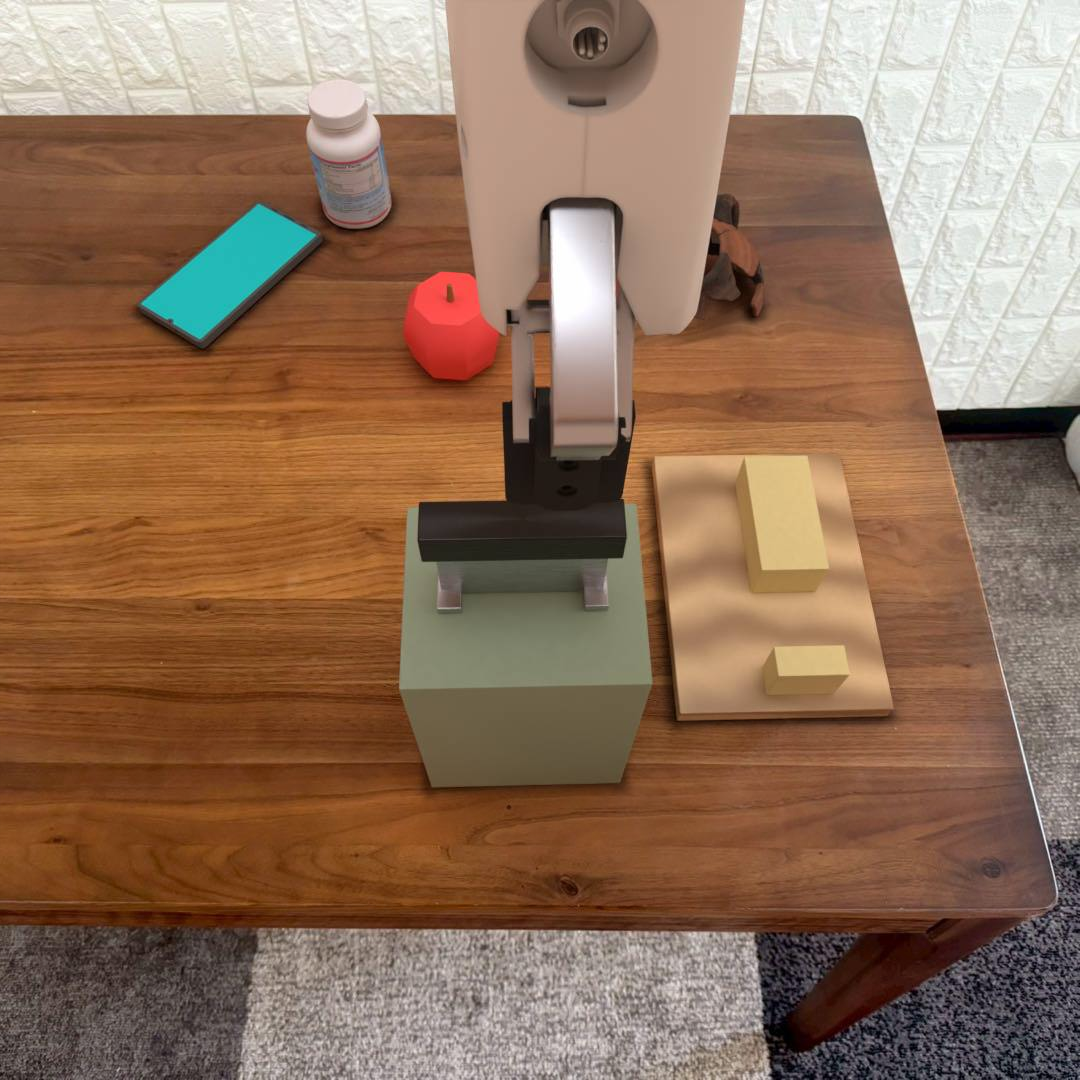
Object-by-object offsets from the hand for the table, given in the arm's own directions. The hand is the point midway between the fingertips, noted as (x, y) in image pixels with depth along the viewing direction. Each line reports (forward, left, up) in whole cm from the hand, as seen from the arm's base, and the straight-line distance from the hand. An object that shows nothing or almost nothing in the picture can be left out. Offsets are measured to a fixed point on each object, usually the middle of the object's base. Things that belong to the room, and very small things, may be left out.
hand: (556, 357), depth 29 cm
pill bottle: (+49, +15, -38) cm, 64 cm away
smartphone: (+41, +25, -38) cm, 61 cm away
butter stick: (+14, -17, -37) cm, 43 cm away
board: (+11, -16, -38) cm, 43 cm away
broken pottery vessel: (+39, -15, -38) cm, 57 cm away
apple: (+32, +6, -38) cm, 50 cm away
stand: (+2, +1, -38) cm, 38 cm away
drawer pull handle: (+2, +1, -20) cm, 20 cm away
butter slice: (+3, -17, -37) cm, 41 cm away
